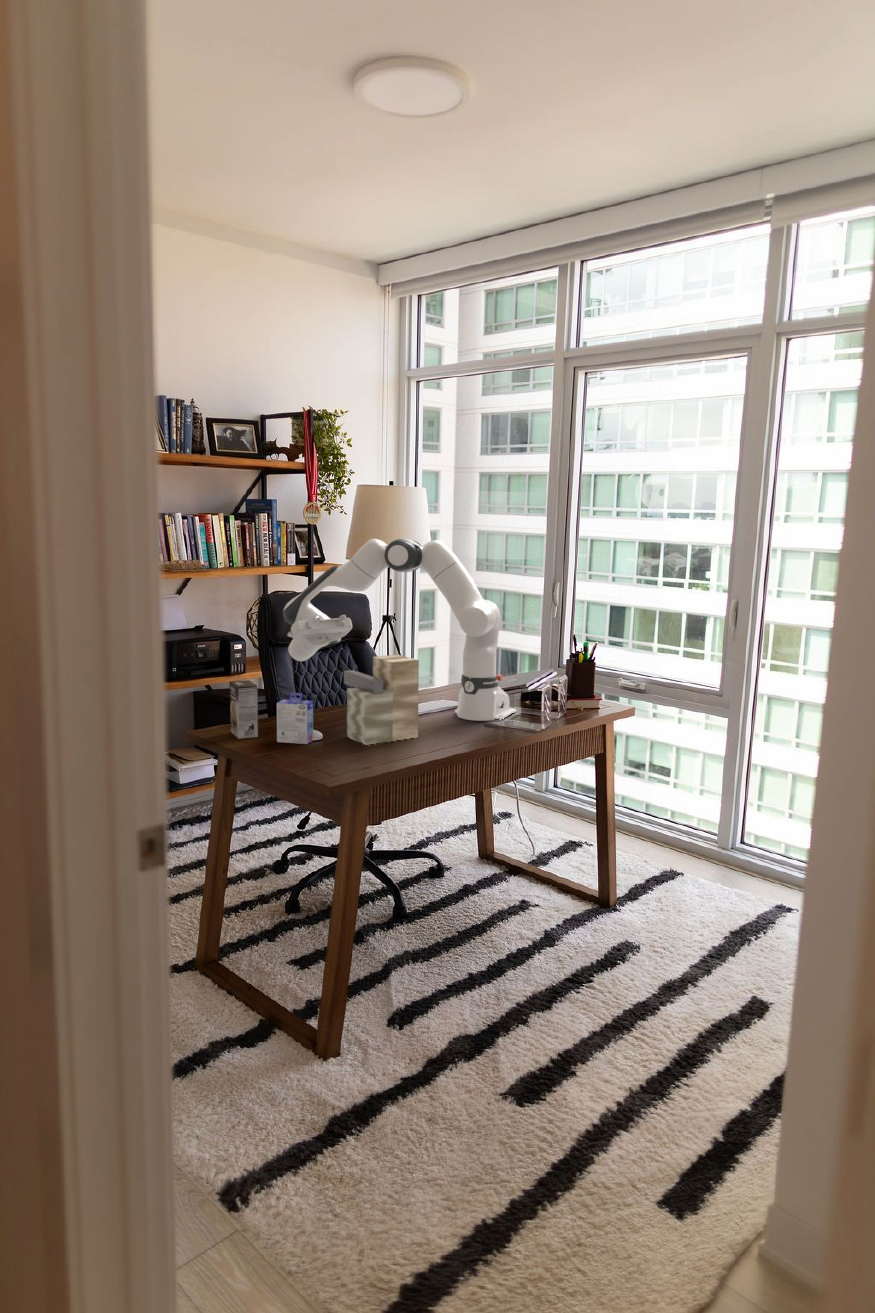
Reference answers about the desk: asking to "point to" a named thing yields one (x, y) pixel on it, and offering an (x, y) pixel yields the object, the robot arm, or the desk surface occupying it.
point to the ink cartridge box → (295, 720)
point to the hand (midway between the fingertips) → (330, 617)
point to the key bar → (363, 682)
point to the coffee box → (243, 709)
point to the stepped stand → (386, 703)
